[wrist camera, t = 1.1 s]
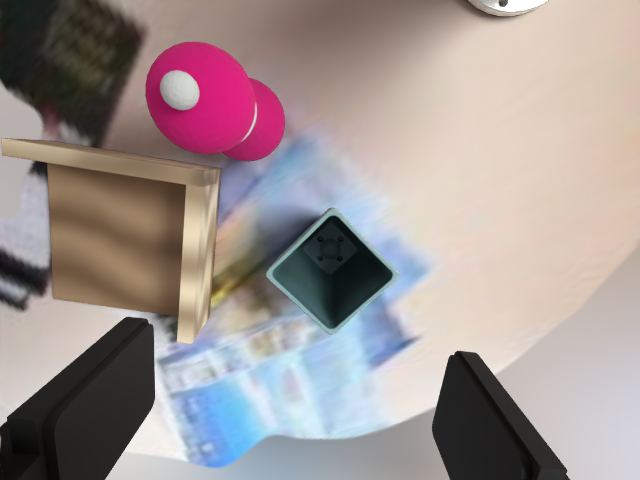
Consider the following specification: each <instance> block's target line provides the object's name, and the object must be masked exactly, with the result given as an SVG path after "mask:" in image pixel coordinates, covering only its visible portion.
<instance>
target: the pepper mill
mask: <svg viewBox="0 0 640 480" xmlns="http://www.w3.org/2000/svg"><path fill="white" fill-rule="evenodd" d="M146 100H147V105H148V109H149V111H150V114H151V117H152V118H153V120H154V122H155V124H156V125H157V127H158V128H159V130H160V131H161V132H162V133H163V134H164V135H165V136H166V137H167V138H168V139H169V140H170V141H172V142H173V143H174V144H176V145H177V146H179V147H181V148H183V149H185V150H188V151H191V152H194V153H199V154H216V153H220V152H222V153H224V154H225V155H227V156H229V157H231V158H234V159H237V160H241V161H255V160H259V159H262V158H264V157H266V156H268V155H269V154H270V153H271V152H273V151H274V150H275V148H276V147H277V146H278V144H279V143H280V141H281V139H282V136H283V133H284V128H285V116H284V111H283V108H282V105H281V103H280V101H279V99H278V98H277V96H276V95H275V94H274V92H272V91H271V90H270V89H269V88H268V87H267V86H265V85H264V84H262V83H261V82H259V81H257V80H254V79H252V78H248V76H247V74H246V72H245V71H244V69H243V68H242V67H241V65H240V64H239V63H238V62H237V61H236V60H235V59H234V58H233V57H232V56H230V55H229V54H228V53H226V52H225V51H223V50H221V49H219V48H217V47H216V46H213V45H210V44H207V43H202V42H184V43H180V44H177V45H174V46H172V47H170V48H169V49H167V50H165V51H164V52H163V53H162V54H160V55H159V56H158V58H157V59H156V60H155V62H154V63H153V64H152V66H151V68H150V70H149V73H148V75H147V80H146Z"/></svg>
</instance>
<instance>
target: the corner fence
mask: <svg viewBox="0 0 640 480" xmlns="http://www.w3.org/2000/svg"><path fill="white" fill-rule="evenodd" d="M1 143H2V154H3V155H4V156H10V157H17V158H22V159H29V160H35V161H41V162H47V163H54V164H60V165H66V166H72V167H79V168H85V169H91V170H97V171H104V172H110V173H116V174H122V175H129V176H135V177H141V178H148V179H154V180H160V181H166V182H173V183H179V184H185V185H186V198H185V215H184V232H183V249H182V266H181V283H180V301H179V318H178V335H177V342H182V343H189V344H192V342H193V341H194V339H195V338H196V336H197V335H198V333H199V332H200V330H201V329H202V327H203V326H204V324H205V323H206V321H207V316H208V304H209V292H210V280H211V268H212V256H213V244H214V232H215V220H216V208H217V196H218V184H219V172H220V169H218V168H212V167H206V166H200V165H194V164H188V163H181V162H175V161H169V160H163V159H157V158H151V157H145V156H138V155H132V154H126V153H120V152H114V151H108V150H101V149H95V148H89V147H83V146H77V145H71V144H65V143H58V142H52V141H46V140H26V139H8V138H1Z"/></svg>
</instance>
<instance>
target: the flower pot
mask: <svg viewBox="0 0 640 480" xmlns="http://www.w3.org/2000/svg"><path fill="white" fill-rule="evenodd" d="M319 237H322V238H323V240H322V241H319V240H318V238H319ZM339 237H342V238H343V240H342V241H339V240H338V238H339ZM319 256H322V257H323V259H322V260H319V259H318V257H319ZM339 256H342V260H338V257H339ZM266 277H267V278H268V279H269V280H270V281H271V282H272V283H273V284H274V285H275V286H276V287H278V288H279V289H280V290H281V291H282V292H283V293H284V294H285V295H286V296H288V297H289V298H290V299H291V300H292V301H293V302H294V303H295V304H296V305H297V306H298V307H299V308H301V310H303V311H304V312H305V313H306V314H307V315H308V316H309V317H310V318H311V319H312V320H313V321H314V322H316V323H317V324H318V325H319V326H320V327H321V328H322V329H323V330H324V331H325V332H326V333H328V334H330V335H332V334H334V333H336V332H337V331H338V330H340V329H341V328H342V327H343V326H344V325H345V324H346V323H347V322H349V321H350V320H351V319H352V318H353V317H354V316H355V315H356V314H357V313H358V312H360V311H361V310H362V309H363V308H364V307H365V306H366V305H368V304H369V303H370V302H371V301H372V300H373V299H375V298H376V297H377V296H378V295H380V294H381V293H382V292H383V291H384V290H385V289H386V288H388V287H389V286H390V285H391V284H392V283H394V282H395V281H396V280H397V278H398V277H399V273H398V271H397V270H396V269H395V268H394V267H393V266H392V265H391V264H390V263H388V262H387V261H386V260H385V259H384V258H383V257H382V256H381V255H380V254H379V253H378V252H377V251H376V250H375V249H374V248H373V247H372V246H371V245H370V244H369V242H368V241H367V240H366V239H365V238H364V237H363V236H362V235H361V234H360V233H359V232H358V231H357V230H356V229H355V228H354V227H353V226H352V225H351V224H350V223H349V222H348V221H347V219H346V218H345V217H344V216H343V215H342V214H341V213H340V212H339V211H338V210H337V209H335V208H329V209H328V210H327V211H326V212H325V213H324V214H323V215H322V216H321V217H320V218H318V219H317V220H316V221H315V222H314V223H313V224H312V225H311V226H310V227H309V228H308V229H307V230H306V231H305V232H304V233H303V234H302V235H301V236H300V237H299V238H298V239H297V240H296V241H295V242H294V243H293V244H292V245H291V246H290V247H289V248H288V249H287V250H286V251H284V252H283V253H282V254H281V255H280V256H279V257H278V258H277V260H276V261H275V262H274V263H273V264H272V265H271V266H270V268H269V269H268V270H267V272H266Z"/></svg>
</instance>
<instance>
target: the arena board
mask: <svg viewBox="0 0 640 480" xmlns="http://www.w3.org/2000/svg"><path fill="white" fill-rule="evenodd" d="M52 142H56V141H52ZM58 143H63V142H58ZM65 144H69V143H65ZM71 145H75V144H71ZM77 146H81V145H77ZM83 147H87V146H83ZM89 148H93V147H89ZM95 149H99V148H95ZM101 150H106V149H101ZM108 151H112V150H108ZM114 152H118V151H114ZM120 153H124V152H120ZM126 154H130V153H126ZM132 155H136V154H132ZM138 156H142V155H138ZM145 157H149V156H145ZM151 158H155V157H151ZM157 159H161V158H157ZM163 160H167V159H163ZM169 161H173V160H169ZM175 162H179V161H175ZM181 163H185V162H181ZM188 164H192V163H188ZM194 165H198V164H194ZM200 166H204V165H200ZM206 167H210V166H206ZM47 168H48V190H49V211H50V233H51V255H52V277H53V299H60V300H67V301H74V302H81V303H88V304H95V305H102V306H109V307H116V308H123V309H130V310H137V311H144V312H151V313H158V314H165V315H172V316H179V301H180V283H181V266H182V249H183V232H184V215H185V198H186V185H185V184H179V183H173V182H166V181H160V180H154V179H148V178H141V177H135V176H129V175H122V174H116V173H110V172H104V171H97V170H91V169H85V168H79V167H72V166H66V165H60V164H54V163H47ZM212 168H216V167H212ZM218 169H220V172H219V184H218V196H217V208H216V220H215V232H214V244H213V256H212V268H211V280H210V292H209V304H208V316H207V320H208V319H209V315H210V303H211V291H212V280H213V268H214V256H215V244H216V232H217V220H218V209H219V197H220V185H221V173H222V168H218Z"/></svg>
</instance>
